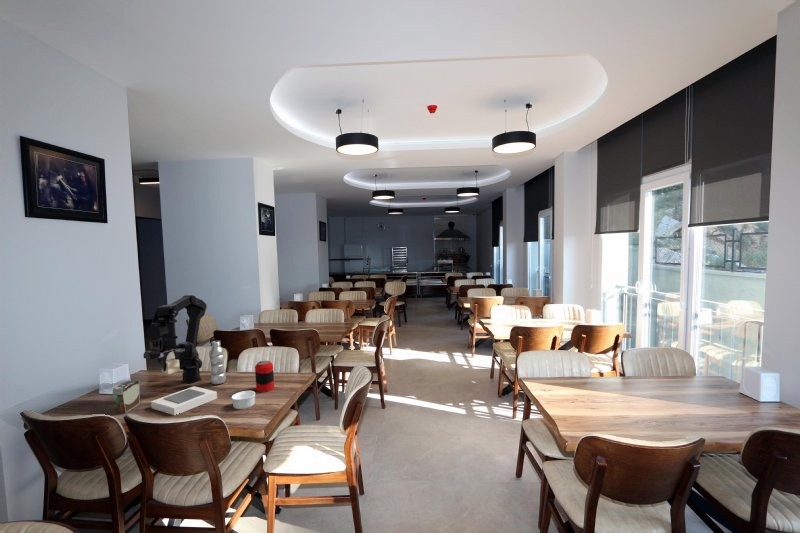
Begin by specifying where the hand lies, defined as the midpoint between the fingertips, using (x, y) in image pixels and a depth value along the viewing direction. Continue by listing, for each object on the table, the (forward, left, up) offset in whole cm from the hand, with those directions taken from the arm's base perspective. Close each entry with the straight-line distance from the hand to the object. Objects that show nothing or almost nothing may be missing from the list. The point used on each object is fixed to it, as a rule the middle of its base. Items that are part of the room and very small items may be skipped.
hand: (170, 369), depth 170 cm
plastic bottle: (-17, +8, -11) cm, 22 cm away
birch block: (0, 0, -1) cm, 1 cm away
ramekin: (-5, +41, -11) cm, 43 cm away
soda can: (-21, +35, -11) cm, 42 cm away
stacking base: (+4, +16, -11) cm, 20 cm away
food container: (+18, -2, -11) cm, 21 cm away
